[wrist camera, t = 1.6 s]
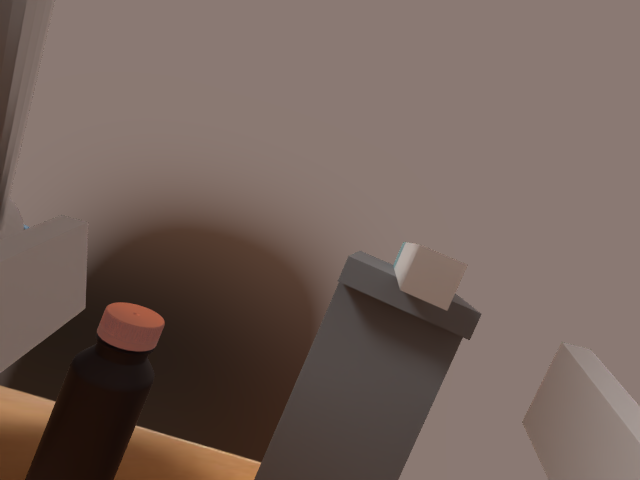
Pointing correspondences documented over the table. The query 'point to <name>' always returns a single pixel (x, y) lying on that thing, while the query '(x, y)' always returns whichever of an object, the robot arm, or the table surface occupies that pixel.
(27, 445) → the table surface
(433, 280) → the beige teal square bar
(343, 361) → the shelf stand
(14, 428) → the table surface
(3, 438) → the table surface
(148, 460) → the table surface
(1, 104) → the robot arm
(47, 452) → the bottle
